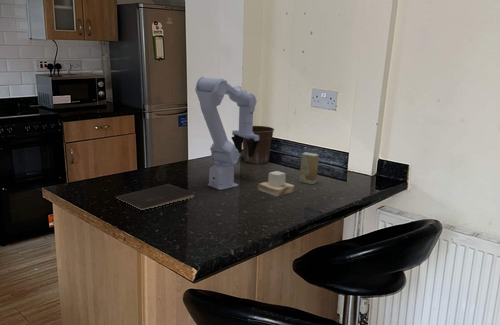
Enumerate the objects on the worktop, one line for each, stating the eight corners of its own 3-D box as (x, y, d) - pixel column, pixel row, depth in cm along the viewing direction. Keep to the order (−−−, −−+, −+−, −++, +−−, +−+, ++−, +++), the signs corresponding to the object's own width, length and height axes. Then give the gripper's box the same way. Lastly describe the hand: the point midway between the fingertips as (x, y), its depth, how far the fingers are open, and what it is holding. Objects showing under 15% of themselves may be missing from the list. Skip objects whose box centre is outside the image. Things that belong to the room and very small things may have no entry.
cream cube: (276, 187, 169) (277, 175, 168) (268, 184, 173) (268, 172, 172) (285, 184, 172) (285, 173, 171) (276, 182, 176) (276, 170, 175)
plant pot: (244, 165, 208) (245, 131, 204) (235, 157, 224) (236, 125, 220) (277, 164, 213) (278, 131, 209) (266, 156, 228) (268, 125, 224)
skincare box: (298, 182, 185) (300, 153, 182) (302, 179, 189) (304, 151, 186) (313, 184, 183) (315, 155, 180) (317, 182, 186) (319, 153, 183)
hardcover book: (195, 199, 162) (195, 193, 162) (141, 214, 146) (141, 207, 145) (168, 189, 172) (168, 183, 172) (115, 202, 156) (114, 196, 155)
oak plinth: (276, 197, 167) (276, 190, 166) (258, 191, 174) (258, 183, 173) (294, 192, 173) (294, 185, 172) (276, 186, 180) (276, 179, 180)
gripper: (265, 124, 181) (263, 156, 185) (241, 119, 191) (240, 150, 195) (252, 125, 177) (251, 159, 180) (228, 120, 187) (228, 152, 190)
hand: (244, 154), depth 187 cm, fingers open, 7 cm apart
